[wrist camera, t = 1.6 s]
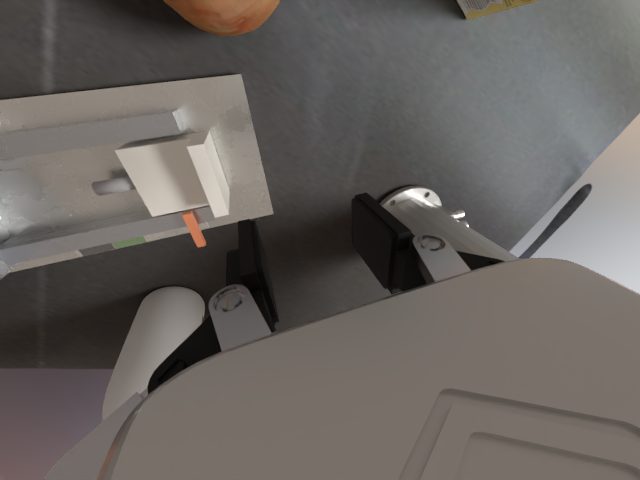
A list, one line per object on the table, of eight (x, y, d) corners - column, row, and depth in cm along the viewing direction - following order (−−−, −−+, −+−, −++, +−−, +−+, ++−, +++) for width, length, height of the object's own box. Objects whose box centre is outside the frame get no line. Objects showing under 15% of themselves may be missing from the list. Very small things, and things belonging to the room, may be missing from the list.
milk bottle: (126, 300, 31) (11, 539, 15) (183, 275, 31) (131, 481, 15) (167, 331, 35) (114, 537, 19) (216, 308, 36) (203, 492, 20)
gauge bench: (240, 74, 22) (245, 70, 14) (272, 210, 30) (286, 257, 22) (-173, 119, 16) (-554, 155, 8) (2, 269, 24) (-108, 360, 17)
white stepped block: (209, 131, 22) (203, 143, 18) (240, 222, 28) (241, 250, 23) (81, 150, 20) (38, 170, 16) (143, 244, 26) (124, 278, 21)
